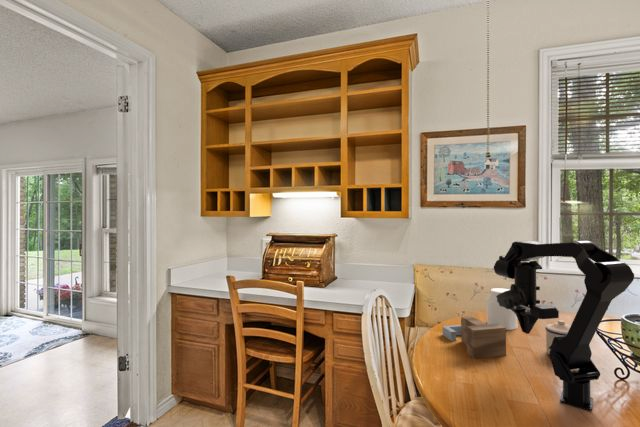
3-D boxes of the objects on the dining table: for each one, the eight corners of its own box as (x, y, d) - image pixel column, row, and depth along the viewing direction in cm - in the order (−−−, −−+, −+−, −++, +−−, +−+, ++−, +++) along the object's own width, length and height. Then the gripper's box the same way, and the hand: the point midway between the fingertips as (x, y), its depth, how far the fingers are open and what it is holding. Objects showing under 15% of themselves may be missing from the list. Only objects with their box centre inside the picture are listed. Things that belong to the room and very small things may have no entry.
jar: (485, 326, 144) (484, 291, 144) (488, 320, 152) (488, 286, 152) (516, 331, 138) (516, 294, 138) (518, 324, 146) (517, 289, 146)
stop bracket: (477, 338, 131) (477, 329, 131) (451, 341, 129) (451, 332, 129) (468, 332, 137) (467, 324, 137) (442, 334, 136) (442, 326, 136)
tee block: (506, 355, 116) (505, 327, 116) (473, 358, 114) (473, 330, 114) (480, 339, 130) (480, 315, 130) (451, 342, 128) (451, 317, 128)
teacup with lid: (574, 363, 109) (573, 327, 109) (541, 354, 116) (541, 320, 116) (583, 352, 117) (583, 319, 117) (552, 345, 124) (552, 313, 123)
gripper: (482, 277, 112) (482, 324, 112) (524, 290, 93) (525, 347, 94) (512, 275, 114) (513, 322, 114) (560, 288, 95) (560, 343, 95)
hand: (525, 332), depth 104 cm, fingers closed
